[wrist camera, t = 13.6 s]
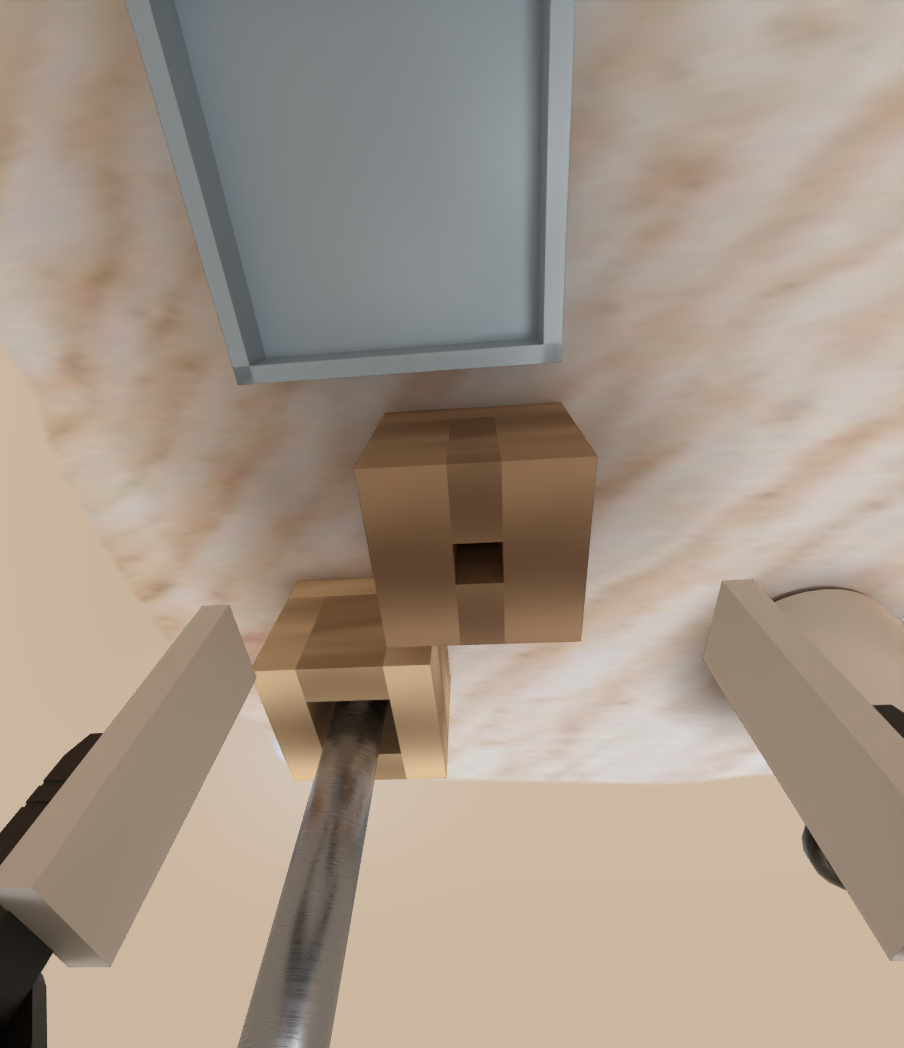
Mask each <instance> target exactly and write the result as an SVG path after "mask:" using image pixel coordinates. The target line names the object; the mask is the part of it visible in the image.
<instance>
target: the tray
mask: <svg viewBox="0 0 904 1048" xmlns="http://www.w3.org/2000/svg"><path fill="white" fill-rule="evenodd" d="M125 2H126V5H127V9H128V12H129V16H130V19H131V23H132V26H133V29H134V33H135V36H136V40H137V43H138V46H139V50H140V53H141V57H142V60H143V63H144V67H145V70H146V74H147V77H148V80H149V84H150V87H151V91H152V94H153V97H154V101H155V104H156V108H157V111H158V114H159V118H160V121H161V125H162V128H163V131H164V135H165V138H166V142H167V145H168V148H169V152H170V155H171V159H172V162H173V166H174V169H175V172H176V176H177V179H178V183H179V186H180V189H181V193H182V196H183V200H184V203H185V206H186V210H187V213H188V217H189V220H190V223H191V227H192V230H193V234H194V237H195V240H196V244H197V247H198V251H199V254H200V257H201V261H202V264H203V268H204V271H205V274H206V278H207V281H208V285H209V288H210V291H211V295H212V298H213V302H214V305H215V309H216V312H217V315H218V319H219V322H220V326H221V329H222V332H223V336H224V339H225V343H226V346H227V349H228V353H229V356H230V360H231V363H232V366H233V370H234V373H235V377H236V380H237V383H238V385H245V384H259V383H273V382H287V381H301V380H315V379H330V378H344V377H358V376H372V375H386V374H400V373H414V372H428V371H442V370H456V369H470V368H484V367H498V366H512V365H526V364H540V363H554V362H561V353H562V327H563V302H564V276H565V250H566V224H567V198H568V172H569V147H570V121H571V95H572V69H573V43H574V17H575V0H125Z"/></svg>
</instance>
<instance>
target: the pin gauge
mask: <svg viewBox="0 0 904 1048" xmlns="http://www.w3.org/2000/svg"><path fill="white" fill-rule="evenodd" d="M387 703H388V699H386V700H355V701H336V704H335V708H334V711H333V715H332V718H331V722H330V725H329V729H328V732H327V736H326V739H325V743H324V746H323V750H322V753H321V757H320V760H319V764H318V767H317V771H316V774H315V778H314V781H313V785H312V788H311V792H310V795H309V799H308V802H307V806H306V809H305V813H304V816H303V820H302V823H301V827H300V830H299V834H298V838H297V841H296V844H295V848H294V852H293V855H292V859H291V862H290V865H289V870H288V872H287V876H286V879H285V883H284V887H283V890H282V893H281V897H280V901H279V904H278V908H277V911H276V914H275V918H274V921H273V925H272V928H271V932H270V936H269V939H268V942H267V946H266V949H265V953H264V956H263V960H262V964H261V967H260V971H259V974H258V977H257V981H256V985H255V988H254V991H253V995H252V998H251V1002H250V1006H249V1009H248V1012H247V1016H246V1019H245V1023H244V1027H243V1030H242V1033H241V1037H240V1040H239V1044H238V1047H237V1048H329V1046H330V1040H331V1034H332V1028H333V1023H334V1017H335V1010H336V1005H337V999H338V993H339V986H340V981H341V975H342V969H343V964H344V957H345V952H346V945H347V940H348V934H349V928H350V922H351V916H352V910H353V904H354V898H355V892H356V886H357V880H358V875H359V869H360V863H361V857H362V851H363V845H364V839H365V833H366V827H367V821H368V815H369V810H370V804H371V798H372V792H373V786H374V780H375V774H376V768H377V762H378V756H379V750H380V744H381V739H382V733H383V727H384V721H385V715H386V709H387Z"/></svg>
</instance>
